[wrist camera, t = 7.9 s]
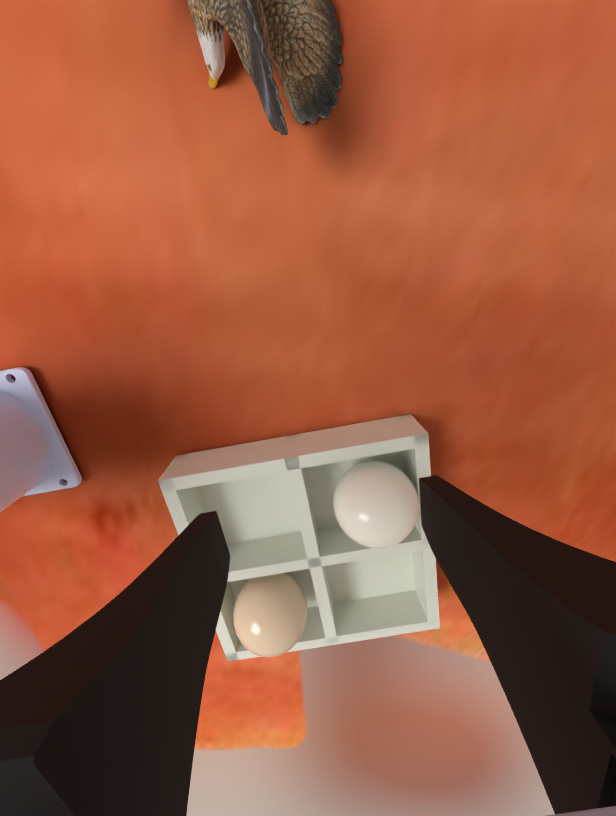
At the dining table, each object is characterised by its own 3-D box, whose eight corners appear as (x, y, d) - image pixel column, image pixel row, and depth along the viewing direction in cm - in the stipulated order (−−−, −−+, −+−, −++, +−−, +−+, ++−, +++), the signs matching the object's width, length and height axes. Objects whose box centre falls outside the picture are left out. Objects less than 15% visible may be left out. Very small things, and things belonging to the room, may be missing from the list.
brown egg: (248, 609, 26) (238, 681, 21) (232, 560, 24) (216, 626, 19) (311, 599, 26) (315, 669, 21) (300, 549, 24) (300, 613, 19)
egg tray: (235, 622, 27) (228, 661, 24) (175, 455, 21) (157, 480, 19) (424, 591, 26) (439, 628, 23) (410, 413, 21) (428, 433, 18)
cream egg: (328, 525, 22) (361, 581, 18) (315, 461, 21) (348, 505, 16) (392, 501, 23) (439, 548, 19) (386, 438, 22) (436, 473, 17)
